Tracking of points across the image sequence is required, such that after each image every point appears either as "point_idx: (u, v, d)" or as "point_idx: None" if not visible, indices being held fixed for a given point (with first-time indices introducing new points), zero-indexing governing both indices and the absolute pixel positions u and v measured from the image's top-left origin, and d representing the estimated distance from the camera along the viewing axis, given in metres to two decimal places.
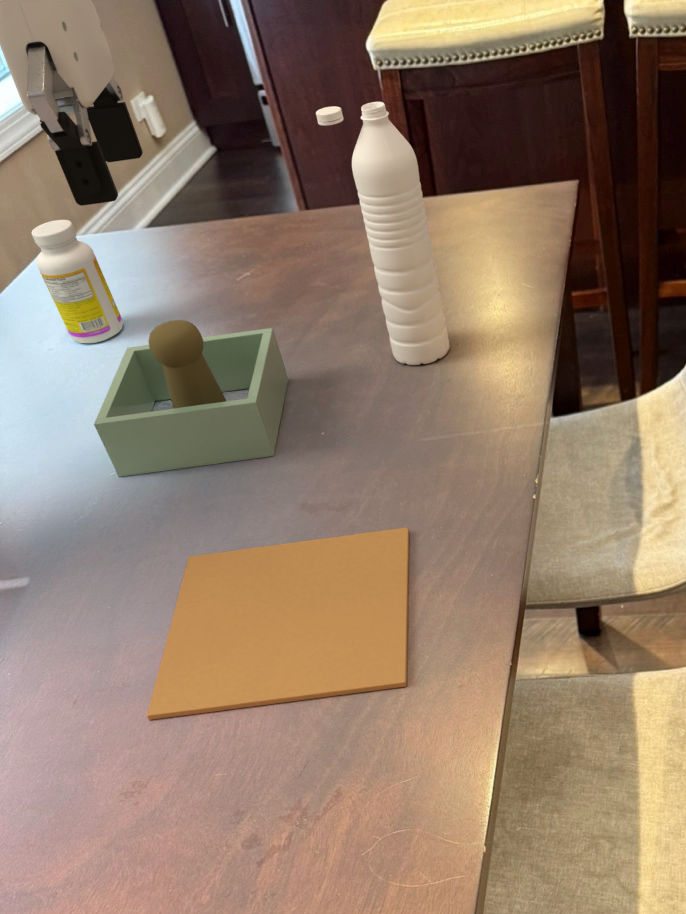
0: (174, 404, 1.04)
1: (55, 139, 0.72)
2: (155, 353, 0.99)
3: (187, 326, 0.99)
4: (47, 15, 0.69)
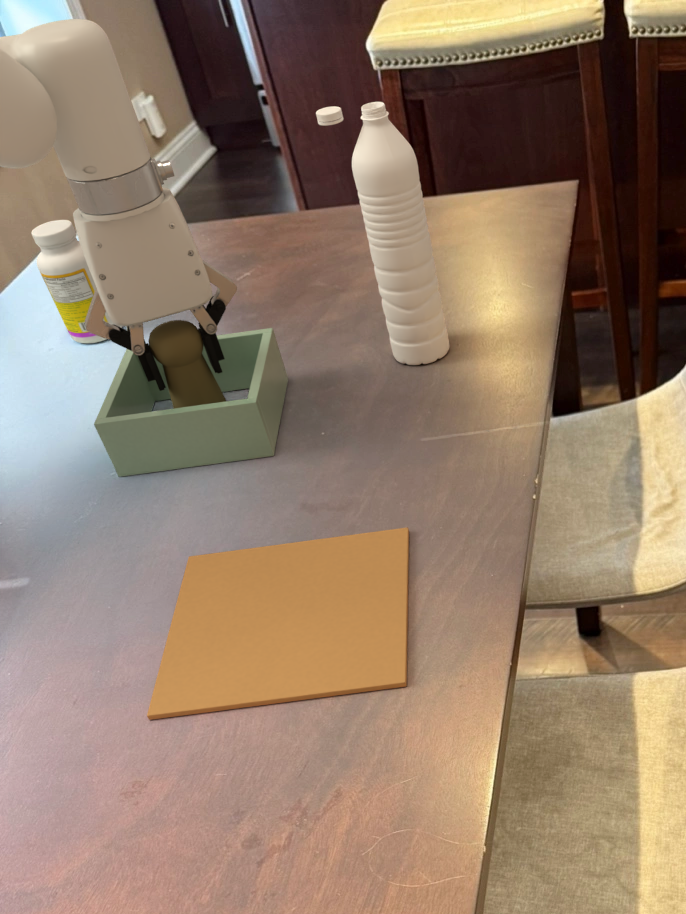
0: (174, 404, 1.04)
1: None
2: (155, 353, 0.99)
3: (187, 326, 0.99)
4: (91, 267, 0.92)
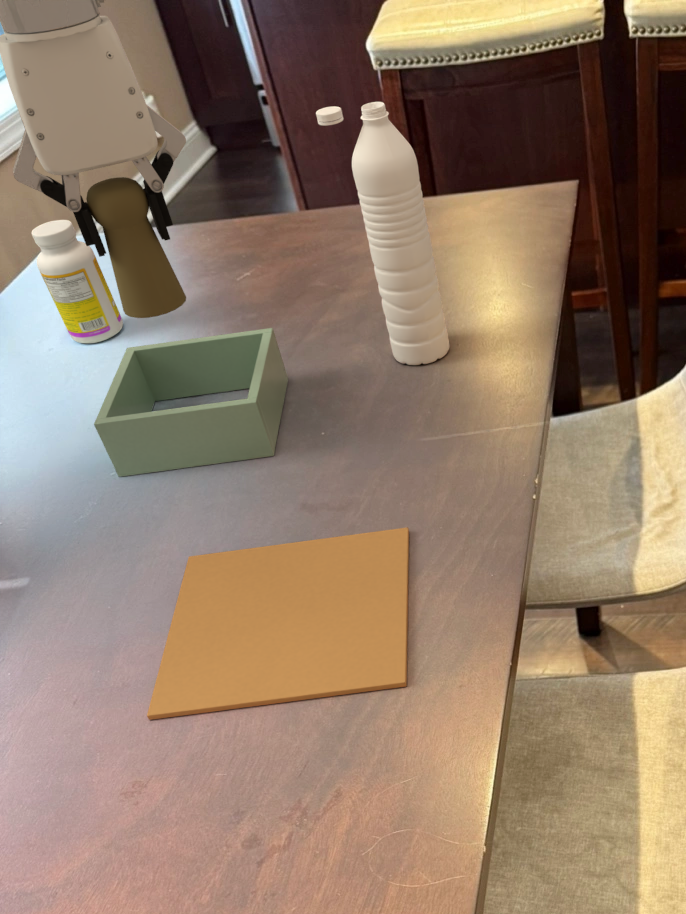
0: (116, 275, 0.93)
1: None
2: (93, 211, 0.89)
3: (130, 182, 0.89)
4: (17, 100, 0.82)
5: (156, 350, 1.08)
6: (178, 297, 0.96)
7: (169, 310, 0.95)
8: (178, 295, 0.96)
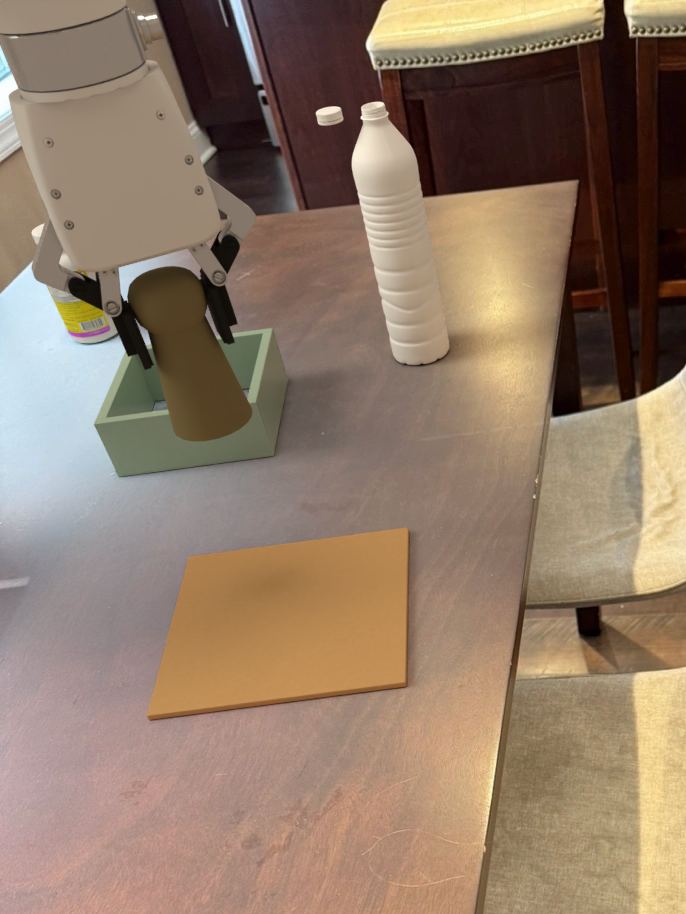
0: (166, 389, 0.72)
1: None
2: (137, 314, 0.68)
3: (184, 274, 0.68)
4: (38, 178, 0.60)
5: None
6: (244, 412, 0.75)
7: (233, 430, 0.74)
8: (243, 410, 0.75)
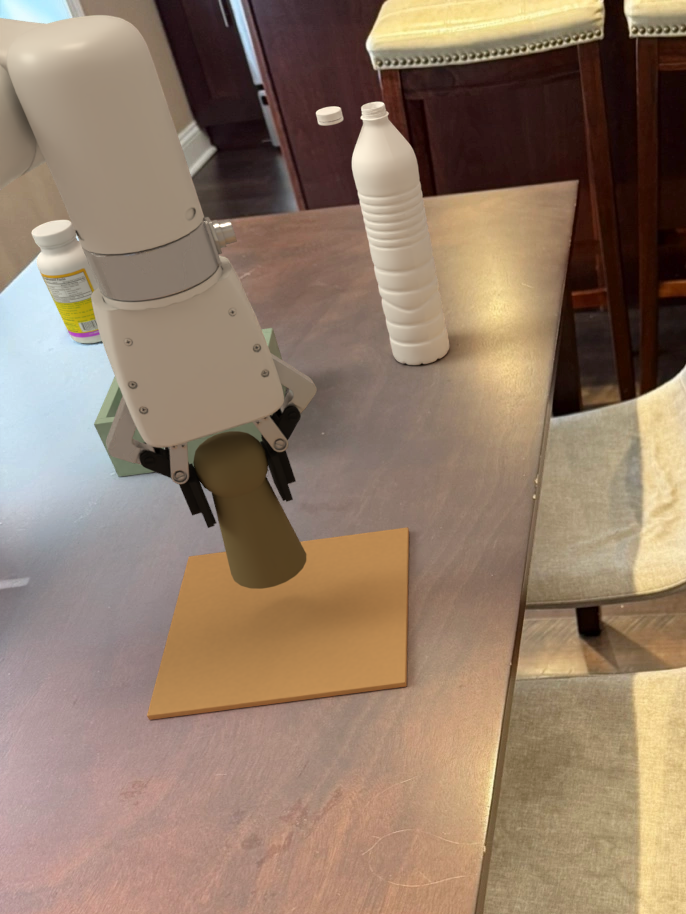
0: (226, 542, 0.76)
1: None
2: (203, 480, 0.72)
3: (248, 442, 0.72)
4: (116, 371, 0.64)
5: None
6: (299, 560, 0.78)
7: (289, 578, 0.78)
8: (299, 557, 0.78)
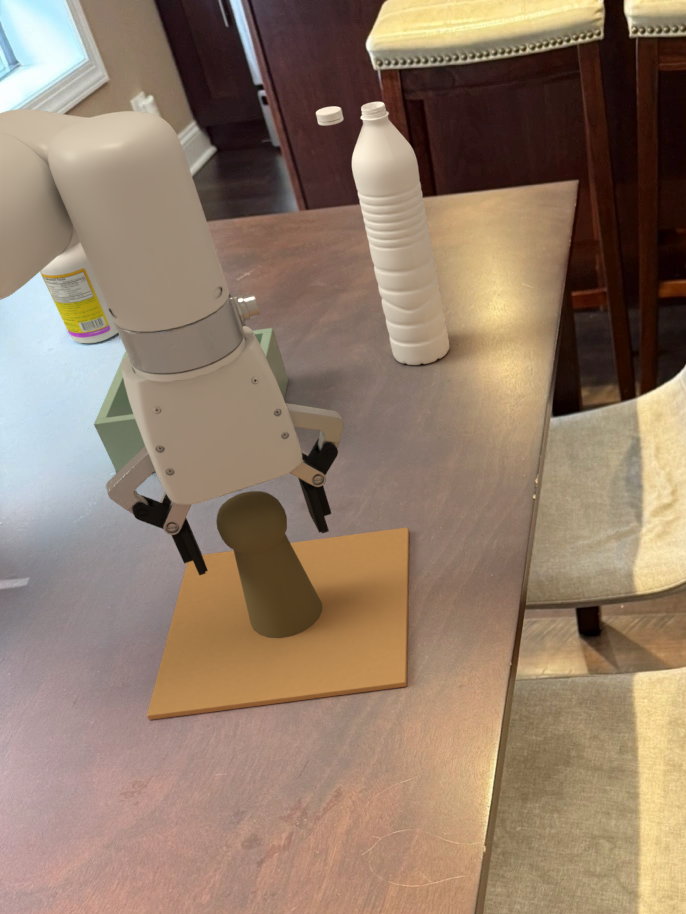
0: (246, 594, 0.80)
1: None
2: (226, 538, 0.75)
3: (268, 502, 0.75)
4: (145, 436, 0.68)
5: None
6: (315, 610, 0.82)
7: (305, 627, 0.82)
8: (315, 608, 0.82)
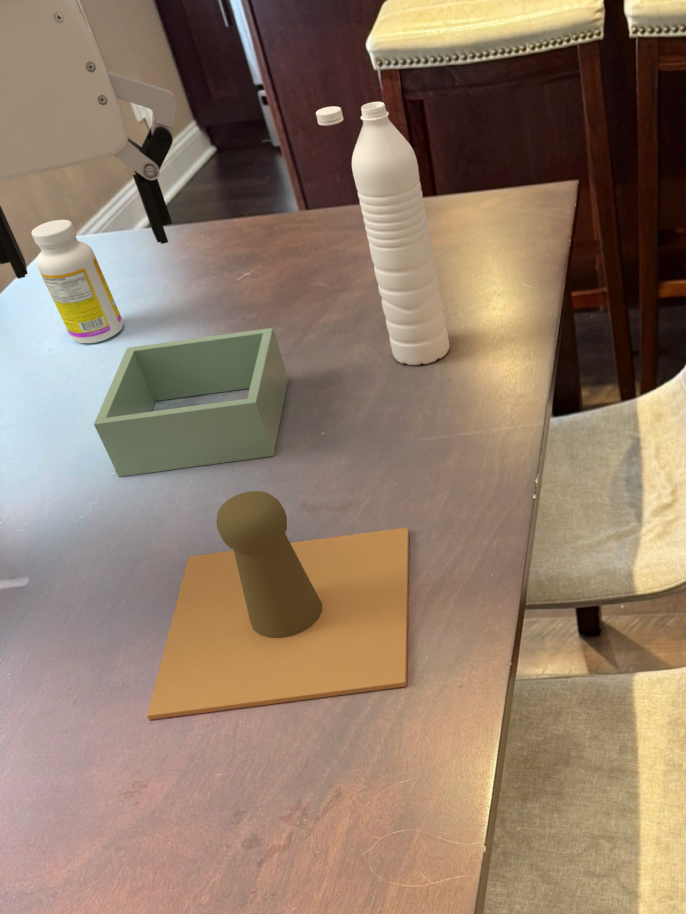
0: (246, 594, 0.80)
1: None
2: (226, 538, 0.75)
3: (268, 503, 0.75)
4: None
5: (156, 350, 1.08)
6: (315, 610, 0.82)
7: (305, 627, 0.82)
8: (315, 608, 0.82)
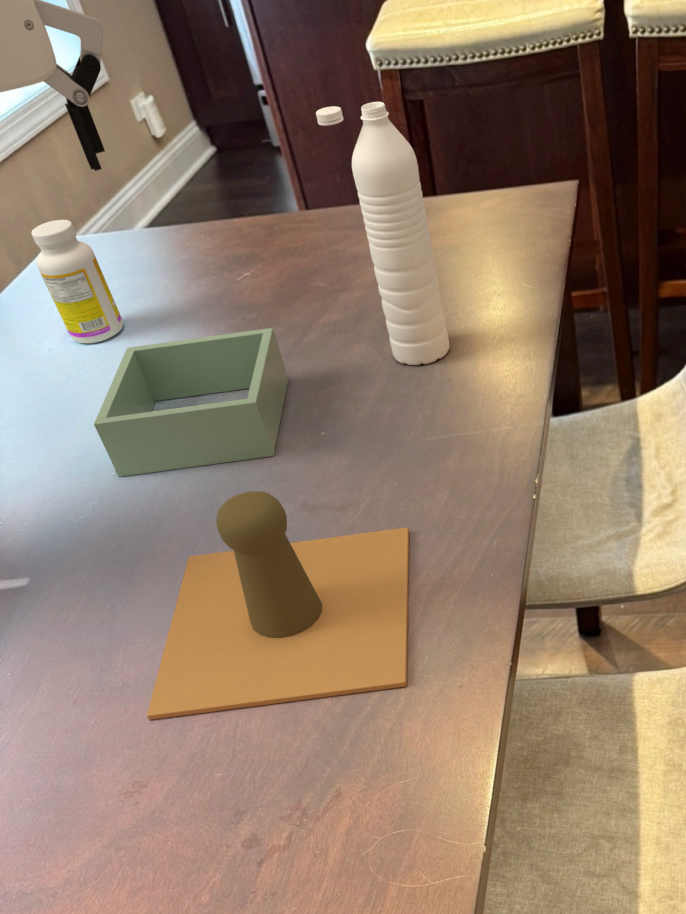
0: (246, 594, 0.80)
1: None
2: (226, 538, 0.75)
3: (268, 503, 0.75)
4: None
5: (156, 350, 1.08)
6: (315, 610, 0.82)
7: (305, 627, 0.82)
8: (315, 608, 0.82)
